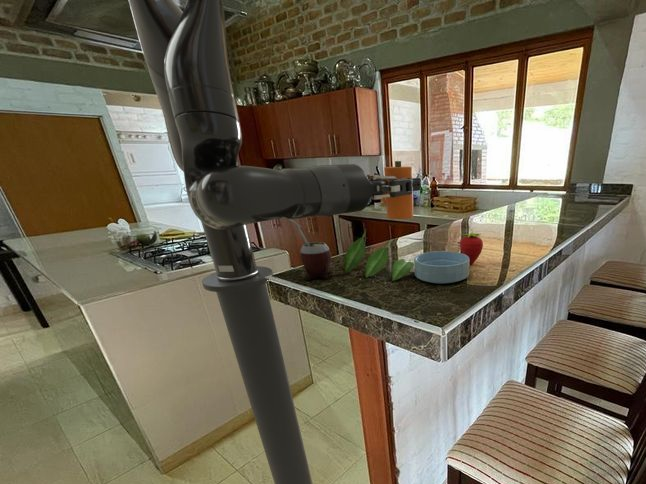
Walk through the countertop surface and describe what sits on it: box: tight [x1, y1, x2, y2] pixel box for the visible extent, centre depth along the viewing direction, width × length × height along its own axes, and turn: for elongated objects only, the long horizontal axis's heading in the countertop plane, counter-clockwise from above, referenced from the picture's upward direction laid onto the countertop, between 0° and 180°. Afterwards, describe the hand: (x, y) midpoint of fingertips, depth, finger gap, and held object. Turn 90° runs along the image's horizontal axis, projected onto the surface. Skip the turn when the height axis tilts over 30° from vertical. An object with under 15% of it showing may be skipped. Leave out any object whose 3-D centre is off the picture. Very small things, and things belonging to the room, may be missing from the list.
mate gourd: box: [287, 219, 332, 281], centre depth 79 cm, size 8×8×15 cm
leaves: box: [344, 229, 414, 282], centre depth 84 cm, size 18×6×13 cm
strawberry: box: [459, 226, 484, 266], centre depth 87 cm, size 6×8×10 cm
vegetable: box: [383, 160, 414, 220], centre depth 64 cm, size 5×5×10 cm
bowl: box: [413, 250, 470, 285], centre depth 80 cm, size 13×13×4 cm
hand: (408, 183), depth 65 cm, fingers closed on vegetable, 5 cm apart
